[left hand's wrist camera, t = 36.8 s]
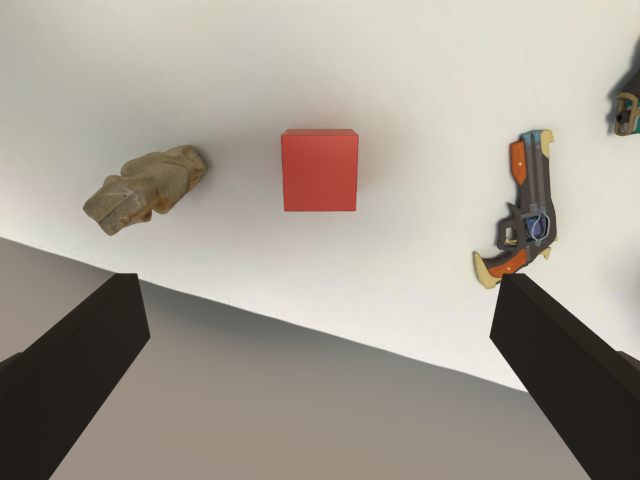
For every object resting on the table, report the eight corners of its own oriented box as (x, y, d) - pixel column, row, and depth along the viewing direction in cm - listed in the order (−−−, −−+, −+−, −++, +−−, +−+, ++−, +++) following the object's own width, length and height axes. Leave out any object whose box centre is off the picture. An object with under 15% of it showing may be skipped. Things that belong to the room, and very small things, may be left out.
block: (350, 194, 44) (355, 211, 38) (289, 195, 44) (284, 211, 38) (352, 129, 41) (358, 134, 35) (287, 129, 41) (281, 135, 35)
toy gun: (482, 294, 46) (566, 281, 44) (463, 149, 41) (557, 127, 39) (476, 285, 49) (555, 272, 47) (457, 147, 43) (546, 126, 41)
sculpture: (144, 164, 43) (59, 196, 29) (191, 132, 41) (125, 148, 27) (175, 204, 44) (109, 252, 31) (221, 174, 43) (174, 210, 29)
